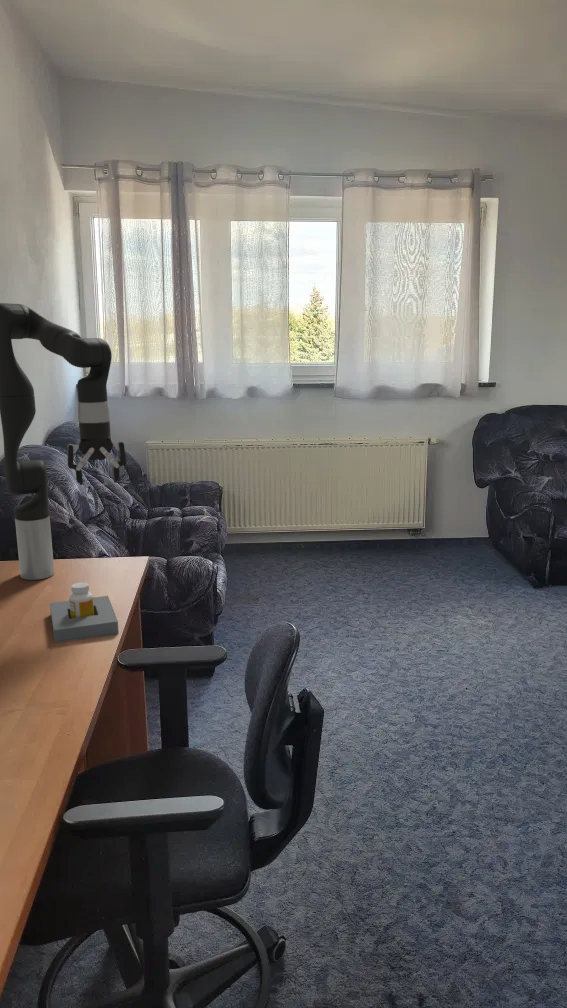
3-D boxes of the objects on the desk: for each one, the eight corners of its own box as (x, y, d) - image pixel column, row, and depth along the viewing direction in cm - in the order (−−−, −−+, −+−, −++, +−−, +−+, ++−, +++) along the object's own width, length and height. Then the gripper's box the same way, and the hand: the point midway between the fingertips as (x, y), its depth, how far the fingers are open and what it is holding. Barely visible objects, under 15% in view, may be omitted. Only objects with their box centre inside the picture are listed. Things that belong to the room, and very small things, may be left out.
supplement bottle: (97, 619, 174) (95, 581, 172) (89, 628, 169) (87, 589, 167) (76, 619, 175) (73, 580, 172) (67, 627, 169) (64, 588, 167)
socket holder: (50, 614, 178) (49, 602, 177) (108, 606, 182) (108, 595, 182) (55, 642, 161) (53, 630, 160) (118, 633, 166) (117, 621, 165)
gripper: (65, 422, 175) (70, 488, 178) (125, 420, 179) (128, 483, 183) (63, 419, 181) (68, 482, 185) (120, 417, 186) (124, 478, 190)
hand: (98, 483), depth 184 cm, fingers open, 8 cm apart
